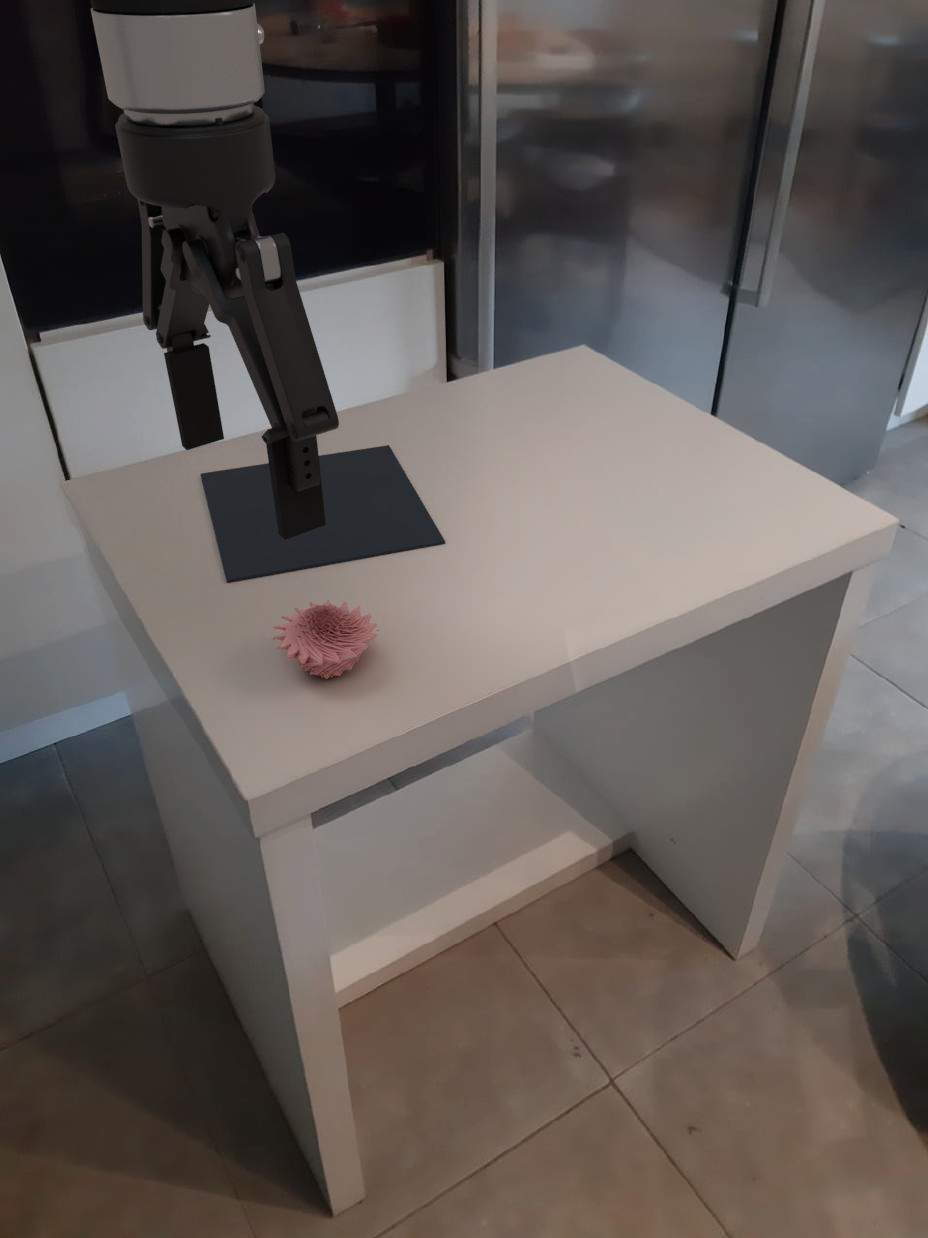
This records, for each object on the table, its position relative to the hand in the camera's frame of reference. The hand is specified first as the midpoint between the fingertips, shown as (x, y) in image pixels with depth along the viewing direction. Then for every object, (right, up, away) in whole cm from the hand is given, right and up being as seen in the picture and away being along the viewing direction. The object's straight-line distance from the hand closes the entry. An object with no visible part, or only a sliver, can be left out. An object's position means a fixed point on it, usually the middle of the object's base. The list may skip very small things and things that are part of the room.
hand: (249, 483), depth 62 cm
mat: (-1, +2, +34) cm, 34 cm away
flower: (+3, -12, +15) cm, 20 cm away
